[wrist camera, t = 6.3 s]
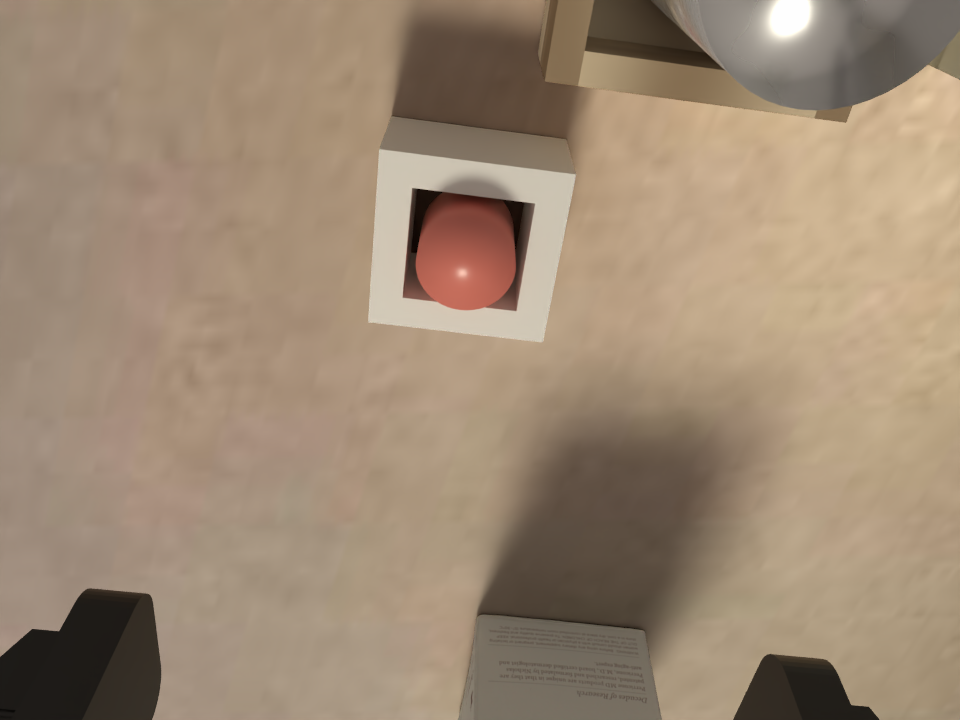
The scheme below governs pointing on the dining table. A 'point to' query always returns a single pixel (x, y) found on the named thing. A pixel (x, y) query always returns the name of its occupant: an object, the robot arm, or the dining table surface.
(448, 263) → the button
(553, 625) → the supplement box
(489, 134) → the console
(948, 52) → the square tray frame
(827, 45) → the cylinder
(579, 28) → the pocket board
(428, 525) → the dining table surface
